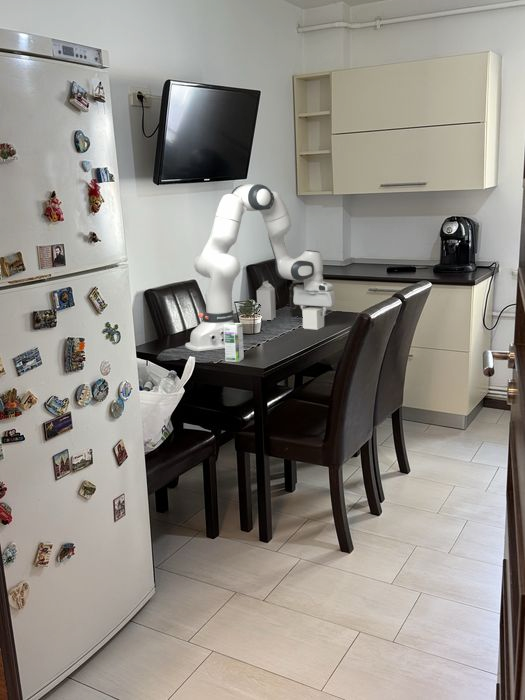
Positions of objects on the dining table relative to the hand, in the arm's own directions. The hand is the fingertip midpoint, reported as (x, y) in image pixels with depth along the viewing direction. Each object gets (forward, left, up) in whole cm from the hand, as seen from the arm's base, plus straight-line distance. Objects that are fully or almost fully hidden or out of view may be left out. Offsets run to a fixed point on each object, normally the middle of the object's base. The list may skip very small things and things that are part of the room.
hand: (314, 315), depth 314 cm
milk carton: (-9, +30, -6) cm, 32 cm away
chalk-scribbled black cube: (+13, +27, -6) cm, 31 cm away
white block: (-1, 0, -6) cm, 6 cm away
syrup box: (-56, -31, -6) cm, 64 cm away
